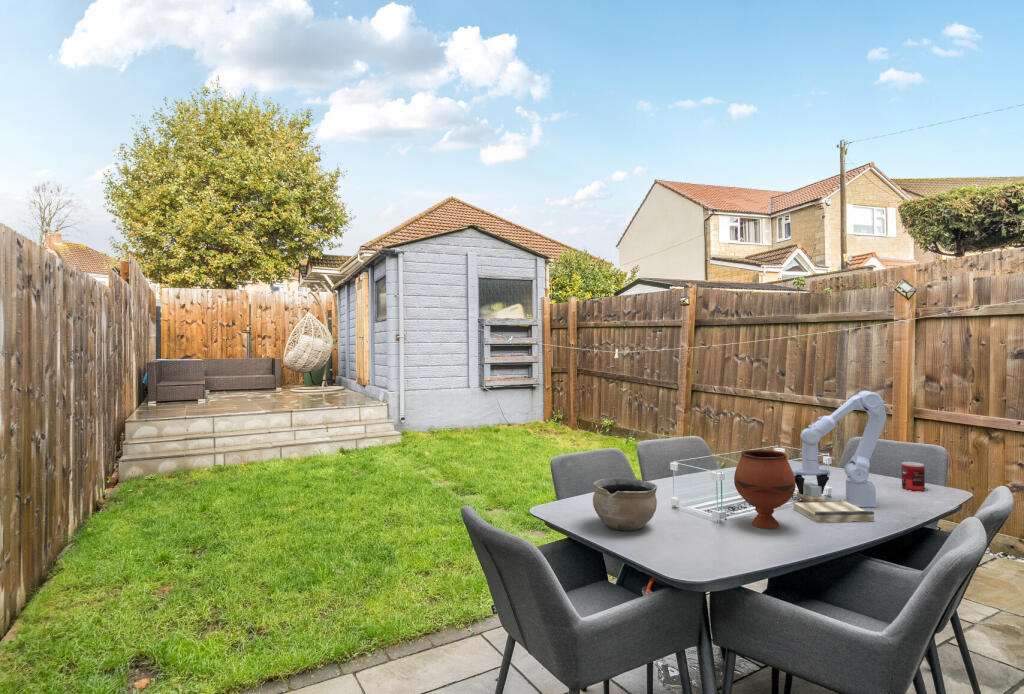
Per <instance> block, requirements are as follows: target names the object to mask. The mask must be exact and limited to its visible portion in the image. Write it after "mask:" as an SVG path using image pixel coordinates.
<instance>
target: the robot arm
mask: <svg viewBox="0 0 1024 694" xmlns="http://www.w3.org/2000/svg"><path fill="white" fill-rule="evenodd" d="M854 410H855V411H856V410H865V412H866V413H867V415H868V416H869V418H868V420H867V423H866V425H865V429H864V430H863V433H862V435H861V438H860V440H859V443H858V445H857V448H856V450H855V453H854V455H853V456H852V457H850V460H849V462H847V463H846V464H845V465H844V467H843V470H844V473H845V475H847V476H846V478H845V500H844V499H842V500H840V502H848V503H850V504H852V505H854V506H857V507H859V508H875V507H876V508H877V507H878V505H877V499H876V498H877V490H876V487H875V484H874V483H873V482H872V481H869V480H868V479H869V477H870V473H869V469H870V468H871V467H870V466H871V464H870V460H871V457H872V456H873V452H874V451H875V447H876V446H877V443H878V440H879V438H880V435H881V433H882V431H883V427H884V425H885V424H886V421H887V417H888V416H887V413H886V412H887V411H886V409H885V401H884V399H883V398H882V397H881V396H880V394H878V393H877V392H875V391H869V390H866V389H865V390H864V389H863V390H861V391H859V392H858V393H857V394H854V395H853V396H852V397H850V398H848V400H846V401H845V402H844V403H843V404H842V405H840V406H839V407H838V408H837V409H836V410H834V411H833V412H832V413H831V414H830V415H822V416H819V417H817V419H818V420H817V421H815V422H814V423H812V424H809V425H808V426H807V428H804V429H803V430H802V431H801V433H800V435H799V436H800V439H801V441H802V444H801V445H802V447H801V466H802V467H801V468H799V469H792V471H793V474H794V477H795V482H796V487H797V491H799V494H802V495H803V492H804V490H803V486H804V482H805V477H803V476H815V477H816V482H817V485H818V486H820V487H821V490H822V495H823V494H824V491H825V486H826V484H827V482H828V481H829V479H830V476H831V470H828V469H819V467H820V466H819V464H820V463H819V460H820V459H819V442H820V440H821V438H823V437H824V436H825V435H827V434H828V433H829V432H831V431H832V430H833V429H834V428H836V426H837V422H839V421H840V420H841V419H843V418H845V417H846V416H847V415H849V414H850V413H851V412H853V411H854Z"/></svg>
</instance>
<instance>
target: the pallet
mask: <svg viewBox="0 0 1024 694" xmlns="http://www.w3.org/2000/svg"><path fill="white" fill-rule="evenodd" d="M796 499H798V500H800V499H801V500H802V502H803V501H804V502H803V503H811V502H827V500H826V498H825V497H824V496H822V497H814V498H811V497H809V496H807V495H805V494H803V495H802V494H799V491H798V490H797V491H796ZM801 500H800V501H801Z"/></svg>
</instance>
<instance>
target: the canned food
mask: <svg viewBox="0 0 1024 694" xmlns="http://www.w3.org/2000/svg"><path fill="white" fill-rule="evenodd" d="M900 465H901V487H902V489H903V490H905V489H906V491H909V490H912V491H911V492H916V491H922V492H924V491H925V488H926V487H925V485H926V484H925V483H926V481H925V479H926V478H925V477H926V476H925V471H926V470H925V464H924V463H922V462H916V461H902V462H901V464H900Z"/></svg>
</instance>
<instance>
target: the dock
mask: <svg viewBox="0 0 1024 694" xmlns="http://www.w3.org/2000/svg"><path fill="white" fill-rule="evenodd" d="M793 510H794V511H796V512H798V513H799V514H801V515H803V516H805V517H806V518H808V519H810V520H811V519H812V520H811V521H813V522H815V523H817V522H826V523H852V522H851V521H874V522H875V511H874V510H865V509H863V508H862V507H857V506H854V505H852V504H850V503H848V502H841V501H839V502H838V501H830V502H829V501H826V502H811V503H805V502H793Z"/></svg>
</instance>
